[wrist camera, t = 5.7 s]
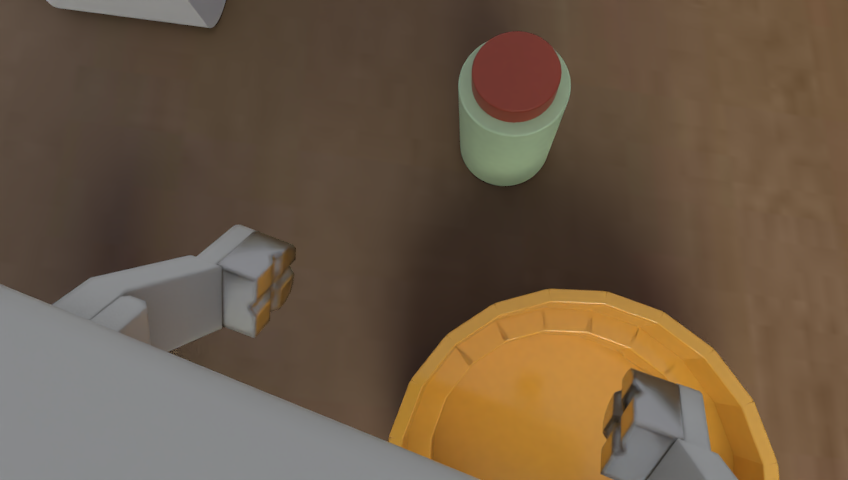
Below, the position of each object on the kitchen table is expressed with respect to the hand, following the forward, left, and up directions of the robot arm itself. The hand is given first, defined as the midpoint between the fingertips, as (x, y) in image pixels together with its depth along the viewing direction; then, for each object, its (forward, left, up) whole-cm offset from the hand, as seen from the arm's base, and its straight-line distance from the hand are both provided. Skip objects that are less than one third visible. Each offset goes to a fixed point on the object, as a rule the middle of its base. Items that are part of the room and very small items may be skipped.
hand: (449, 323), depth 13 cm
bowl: (-5, -4, -12) cm, 14 cm away
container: (+9, -2, -12) cm, 16 cm away
